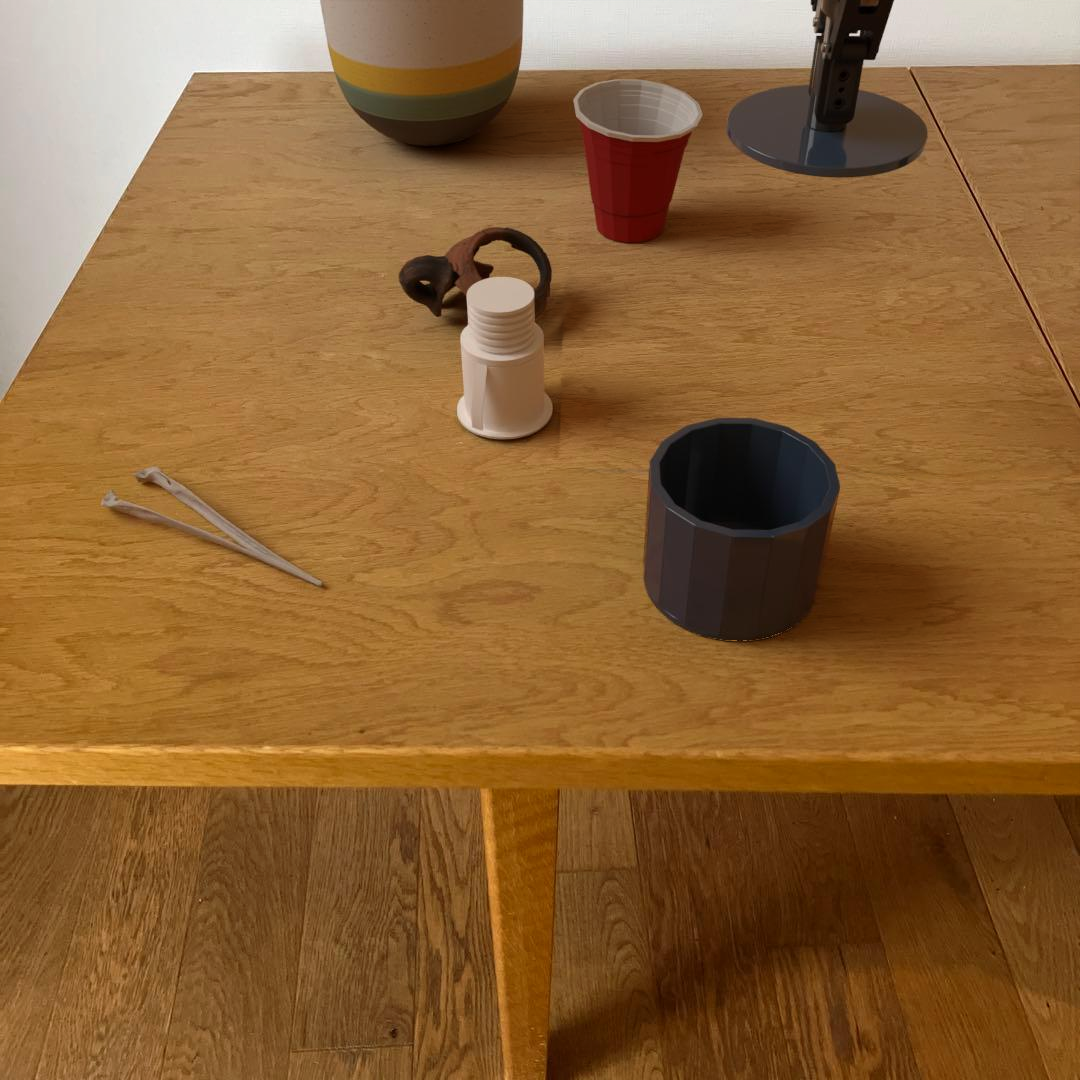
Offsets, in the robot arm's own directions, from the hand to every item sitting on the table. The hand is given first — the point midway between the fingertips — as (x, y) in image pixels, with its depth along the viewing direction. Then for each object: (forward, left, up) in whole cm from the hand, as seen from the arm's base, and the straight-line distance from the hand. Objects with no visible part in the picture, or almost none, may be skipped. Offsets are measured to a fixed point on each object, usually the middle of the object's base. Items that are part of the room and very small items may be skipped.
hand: (829, 109), depth 71 cm
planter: (+30, -49, -23) cm, 62 cm away
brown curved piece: (+23, -14, -23) cm, 36 cm away
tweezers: (+38, +13, -23) cm, 47 cm away
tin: (+5, +16, -23) cm, 29 cm away
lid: (0, 0, -1) cm, 1 cm away
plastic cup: (+10, -28, -23) cm, 38 cm away
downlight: (+20, -1, -23) cm, 31 cm away
